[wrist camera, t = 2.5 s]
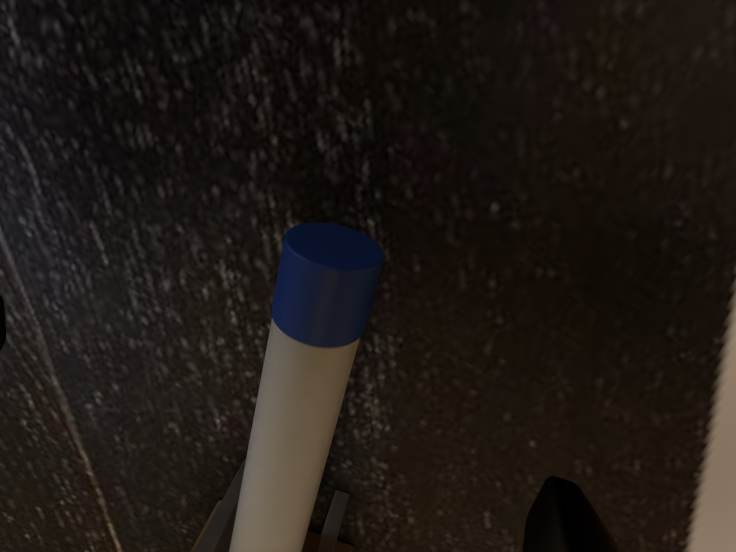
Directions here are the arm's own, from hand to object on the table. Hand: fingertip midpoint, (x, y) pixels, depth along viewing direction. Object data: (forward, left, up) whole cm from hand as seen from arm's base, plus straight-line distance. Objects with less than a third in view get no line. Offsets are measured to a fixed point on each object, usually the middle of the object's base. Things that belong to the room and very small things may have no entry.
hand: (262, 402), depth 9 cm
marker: (0, +4, -5) cm, 7 cm away
